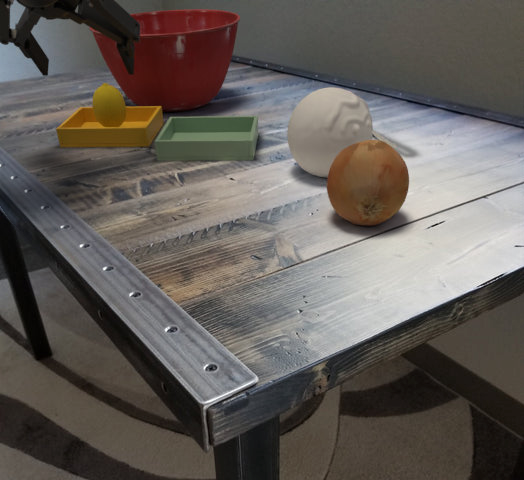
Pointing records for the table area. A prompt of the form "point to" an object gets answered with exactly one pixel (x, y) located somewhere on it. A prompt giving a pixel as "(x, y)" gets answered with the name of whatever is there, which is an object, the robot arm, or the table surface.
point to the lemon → (109, 106)
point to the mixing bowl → (175, 57)
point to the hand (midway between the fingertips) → (88, 67)
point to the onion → (368, 182)
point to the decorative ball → (327, 128)
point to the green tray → (208, 138)
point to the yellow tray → (111, 128)
